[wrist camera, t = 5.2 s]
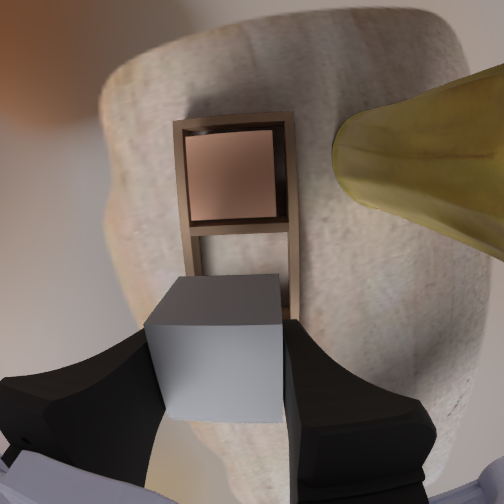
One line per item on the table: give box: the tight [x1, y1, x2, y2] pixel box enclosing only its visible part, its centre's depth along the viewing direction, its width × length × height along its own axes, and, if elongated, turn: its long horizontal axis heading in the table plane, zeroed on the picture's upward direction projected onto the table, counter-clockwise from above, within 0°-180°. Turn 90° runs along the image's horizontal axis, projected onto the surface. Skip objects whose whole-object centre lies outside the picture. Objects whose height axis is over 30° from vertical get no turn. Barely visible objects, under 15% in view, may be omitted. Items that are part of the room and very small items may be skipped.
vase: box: [332, 64, 504, 262], centre depth 10 cm, size 6×6×14 cm
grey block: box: [143, 274, 283, 423], centre depth 11 cm, size 4×4×4 cm
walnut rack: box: [173, 112, 299, 321], centre depth 17 cm, size 18×6×4 cm, turn 3°
